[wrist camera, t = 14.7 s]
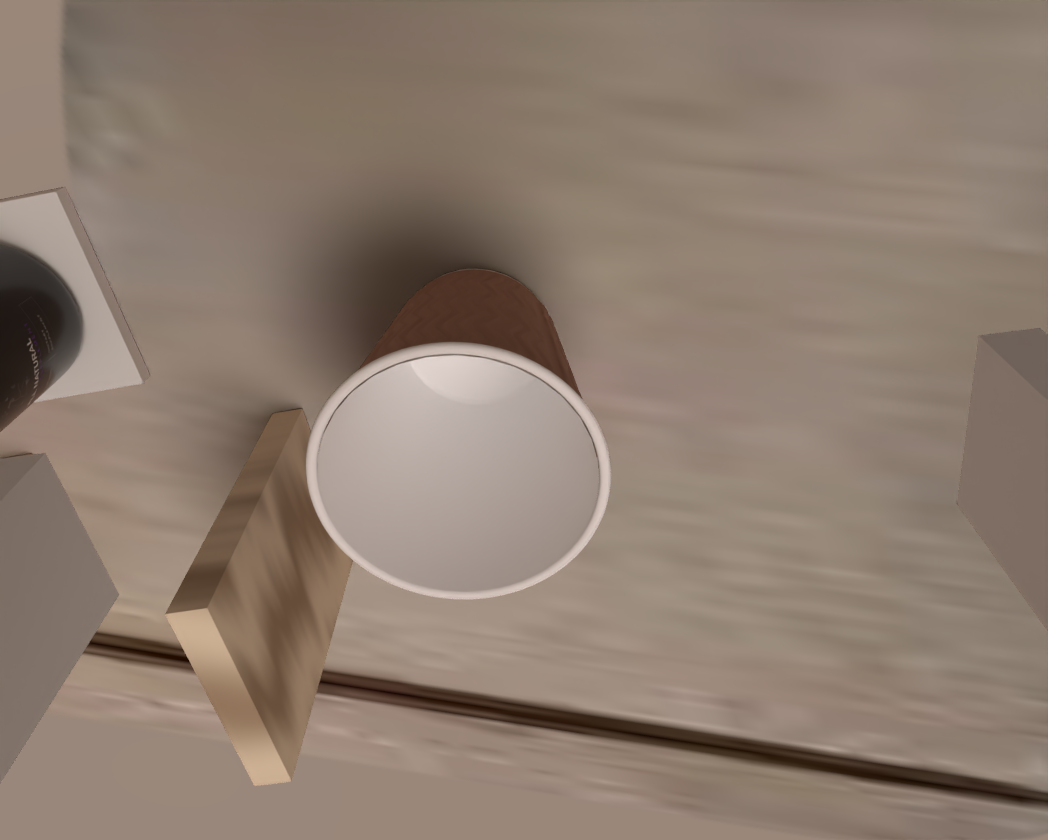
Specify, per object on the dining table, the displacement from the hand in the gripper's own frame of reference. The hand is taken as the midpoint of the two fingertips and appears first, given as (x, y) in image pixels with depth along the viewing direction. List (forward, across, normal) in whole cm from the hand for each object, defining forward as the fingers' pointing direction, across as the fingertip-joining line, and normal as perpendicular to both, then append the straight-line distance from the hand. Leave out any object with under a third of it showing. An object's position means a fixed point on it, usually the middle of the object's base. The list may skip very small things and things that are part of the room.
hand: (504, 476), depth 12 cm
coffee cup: (+26, -4, -9) cm, 27 cm away
